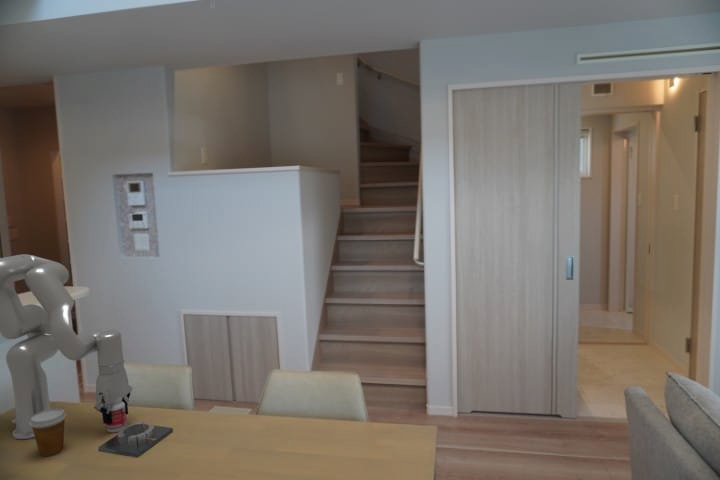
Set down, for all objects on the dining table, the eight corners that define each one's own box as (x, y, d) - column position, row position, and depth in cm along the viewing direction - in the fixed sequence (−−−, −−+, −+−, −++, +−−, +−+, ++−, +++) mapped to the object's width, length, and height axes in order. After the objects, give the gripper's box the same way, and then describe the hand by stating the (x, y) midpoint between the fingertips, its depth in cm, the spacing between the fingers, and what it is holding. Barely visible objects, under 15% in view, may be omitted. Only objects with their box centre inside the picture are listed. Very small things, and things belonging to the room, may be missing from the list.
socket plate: (98, 450, 150) (97, 439, 150) (136, 426, 165) (135, 415, 165) (137, 457, 146) (136, 445, 145) (173, 431, 161) (172, 420, 160)
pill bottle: (128, 429, 163) (125, 398, 162) (107, 434, 160) (104, 403, 159) (125, 422, 168) (122, 392, 167) (105, 427, 165) (102, 396, 164)
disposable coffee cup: (76, 446, 153) (72, 410, 152) (45, 462, 144) (41, 424, 143) (56, 440, 157) (53, 405, 156) (26, 456, 148) (22, 418, 147)
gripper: (122, 358, 171) (126, 406, 173) (80, 376, 155) (86, 429, 157) (139, 359, 169) (143, 408, 171) (99, 378, 152) (104, 432, 154)
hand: (115, 418), depth 164 cm, fingers open, 6 cm apart
